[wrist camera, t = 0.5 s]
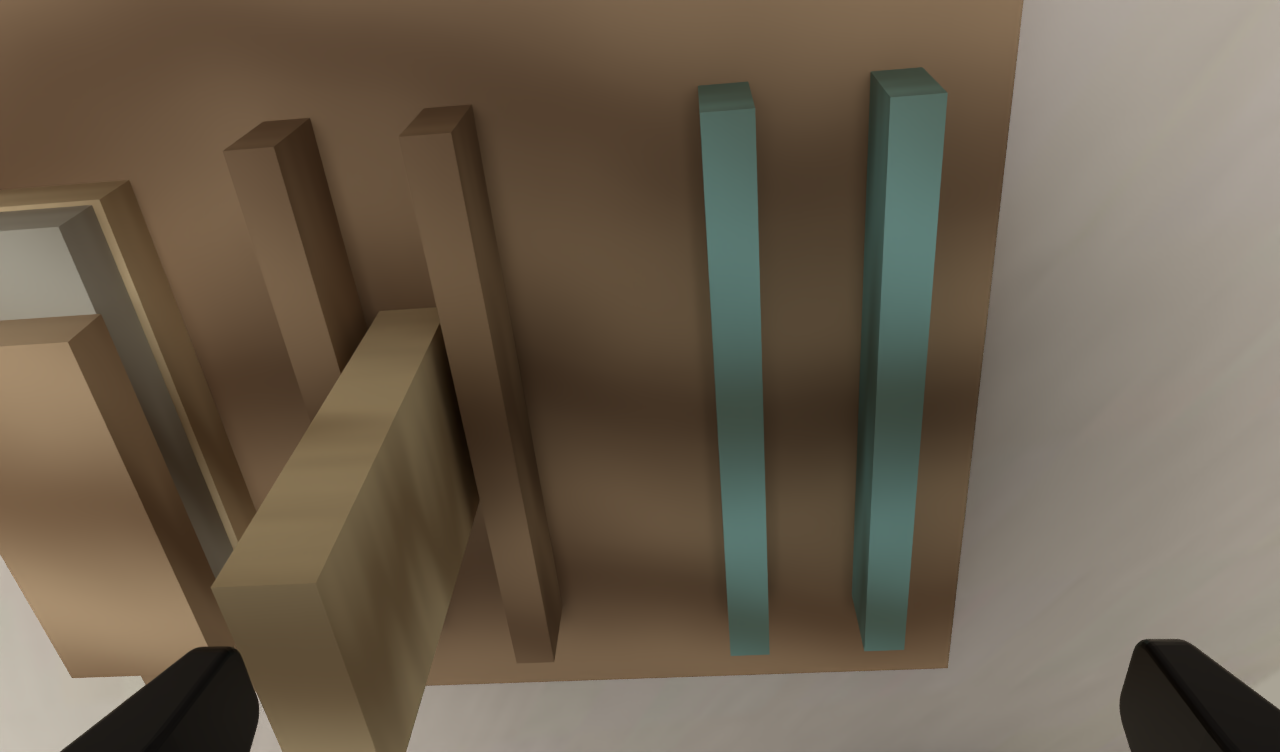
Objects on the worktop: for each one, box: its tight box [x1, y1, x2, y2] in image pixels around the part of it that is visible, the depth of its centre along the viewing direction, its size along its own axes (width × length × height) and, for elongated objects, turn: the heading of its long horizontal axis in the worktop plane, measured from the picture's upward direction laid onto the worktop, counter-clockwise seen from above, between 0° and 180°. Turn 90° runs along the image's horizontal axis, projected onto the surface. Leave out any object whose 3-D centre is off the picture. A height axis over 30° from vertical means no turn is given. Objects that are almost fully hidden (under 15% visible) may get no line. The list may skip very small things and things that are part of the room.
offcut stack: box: [0, 180, 256, 678], centre depth 22 cm, size 12×4×4 cm, turn 5°
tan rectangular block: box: [211, 307, 480, 752], centre depth 19 cm, size 5×2×9 cm, turn 5°
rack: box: [0, 0, 1023, 691], centre depth 22 cm, size 20×24×3 cm
